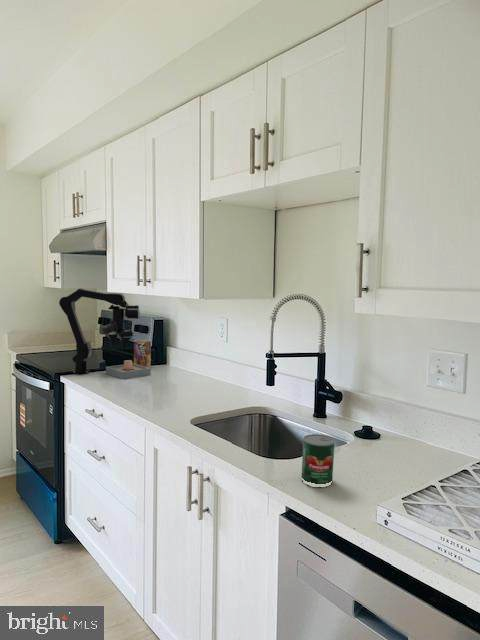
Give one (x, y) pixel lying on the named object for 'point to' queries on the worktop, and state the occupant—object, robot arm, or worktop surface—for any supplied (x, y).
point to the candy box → (142, 353)
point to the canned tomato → (318, 458)
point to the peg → (127, 365)
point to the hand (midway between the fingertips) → (117, 349)
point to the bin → (135, 372)
